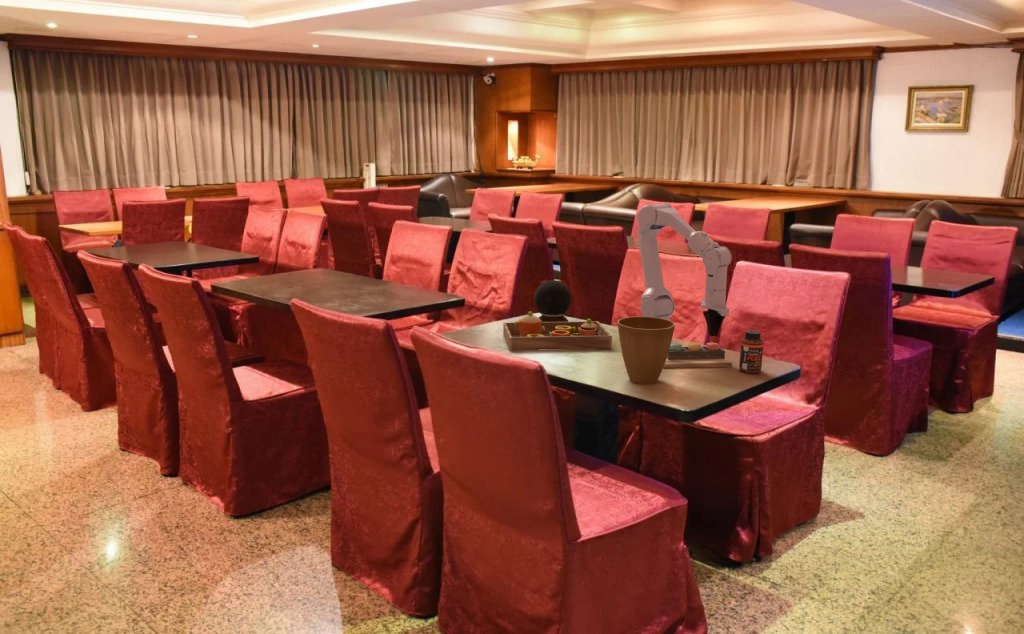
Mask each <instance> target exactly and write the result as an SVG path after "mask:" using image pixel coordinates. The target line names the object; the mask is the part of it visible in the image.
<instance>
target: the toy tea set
mask: <svg viewBox="0 0 1024 634" xmlns="http://www.w3.org/2000/svg"><path fill="white" fill-rule="evenodd" d="M533 313H534V312H533V311H528V312H527V315H524V316H523V317H521V318H519V320H518V321H514V322H515V323H514V325H515V326H518V325H519V329H520V335H519V337H545V334H540V331H543V330H545V328H544V326H541V325H542V321H541V320H540V319H539V318H538V317H539V316H536V315H535V314H533ZM586 321H587V322H586V323H584V324H582V325H581V327H579V328H578V330H579V334H578V336H597V334H596V327H597V326H596V325H595V324H594V323H591V321H592V319H591V318H587V319H586ZM571 331H576V328H575V327H572V328H571V327H570V326H559V325H558V326H556V327H555V331H552V332H549V334H548V335H549V336H574V334H571Z"/></svg>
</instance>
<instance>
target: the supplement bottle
mask: <svg viewBox="0 0 1024 634" xmlns="http://www.w3.org/2000/svg"><path fill="white" fill-rule="evenodd" d="M761 334H762V333H761V331H760V330H759V331H758V330H751V329H750V330H746V331H745V337H744V338H742V339H741V343H740V354H739V371H741V372H742V373H746V374H759V373H761V371H762V366H763V364H762V363H763V352H764V341H763V340H762V339H761Z"/></svg>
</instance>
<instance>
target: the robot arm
mask: <svg viewBox="0 0 1024 634" xmlns="http://www.w3.org/2000/svg"><path fill="white" fill-rule="evenodd" d="M636 216H637V223H638V224H637V232H636V233H637V240H638V247H639V251H640V252H639V253H640V258H641V265H642V271H643V279H644V283H645V290H644V292H643V293H642V295H641V297H640V298H641V300H640V301H641V305H640V313H641V316H642V317H655V318H662V319H666V320H669V321H670V319H671V316H672V315H673V314H674V313H675V311H676V305H675V301H674V300H673V298H672V294H671V291H670V290H669V289H668V288H667V287H665V283H664V277H663V272H662V264H661V260H660V259H661V258H660V252H659V247H658V246H659V245H658V240H657V236H658V234H659V233H660V232H661V231H662V230H663V229H664V228H665V227H670V228H671V229H672V230H673V231H675V232H676V233H677V234H679V235H680V236H682V238H684V239H686V240H687V246H688V247H689V248H690V249H691V250H692V251H693V252H694V253H696V254H697V255H698V256H699V257H700V258H702V263H703V265H704V267H705V270H704V271H705V274H706V275H705V291H704V292H705V295H704V299H701V303H700V307H701V308H702V309H707V310H702V315H703V317H704V319H705V321H706V326H707V332H708V336H710V337H718V335H719V332H720V329H721V325H722V323H723V321H724V319H725V318H726V317H729V313H730V312H729V311H730V309H729V308H728V306H727V305H726V298H727V297H726V295H727V293H726V292H727V277H728V266H729V265H730V264H731V263H732V261H733V255H732V251H731V250H730V249H729V248H728V247H727V246H720V245H719V243H718V242H717V241H716V242H715V241H714V240H713V239H711V238H710V237H709V236H708V232H706V231H702V230H698V231H696V230H695V229H694V228H693V227H692V226H691V225H690V224H689V223H688V222H687V221H686V220H685V219H684V218H683V217H682V216H681V215H680V214H678V212H677V208H675V207H673V206H672V205H671V204H669V203H667V202H666V203H657V204H644V205H642V206H641V208H640V209H639V211H638V212H637V214H636Z"/></svg>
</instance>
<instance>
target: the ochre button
mask: <svg viewBox="0 0 1024 634" xmlns="http://www.w3.org/2000/svg"><path fill="white" fill-rule="evenodd" d="M687 347H688V351H700V347H701V343H698V342H689V343H687Z"/></svg>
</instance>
